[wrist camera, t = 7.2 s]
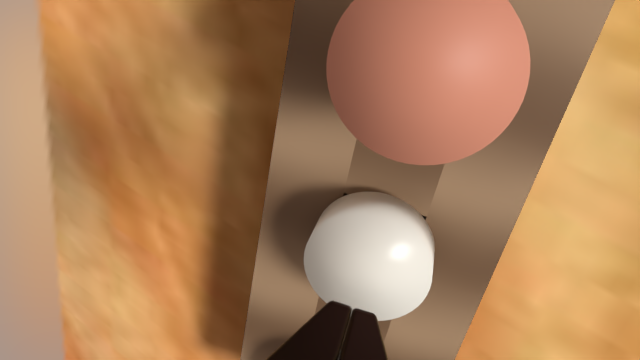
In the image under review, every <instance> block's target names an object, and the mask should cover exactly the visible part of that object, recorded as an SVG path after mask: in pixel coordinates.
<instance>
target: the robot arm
mask: <svg viewBox="0 0 640 360" xmlns="http://www.w3.org/2000/svg"><path fill="white" fill-rule="evenodd" d="M351 313H352V314H351ZM350 316H351V317H350ZM349 320H350V321H349ZM348 323H349V324H348ZM347 327H348V328H347ZM346 330H347V331H346ZM345 334H346V335H345ZM344 337H345V338H344ZM343 341H344V342H343ZM342 344H343V345H342ZM341 348H342V349H341ZM340 351H341V352H340ZM339 355H340V356H339ZM338 358H339V359H338ZM266 360H388V357H387V353H386V349H385V346H384V342H383V338H382V335H381V331H380V327H379V324H378V320H377V317H376V315H375V314H374V313H371V312H368V311H365V310H362V309H359V308H354V309H353V311H352V308H351V306H349V305H346V304H343V303H340V302H336V301H330V302H328V303H327V304H326V305H325V306H324V307H322V308H321V309H320V310H319V311H318V312H317V313H316V314H315V315H314V316H313V317H312V318H310V319H309V320H308V321H307V322H306V323H305V324H304V325H303V326H302V327H301V328H300V329H298V330H297V331H296V332H295V333H294V334H293V335H292V336H291V337H290V338H289V339H287V340H286V341H285V342H284V343H283V344H282V345H281V346H280V347H279V348H278V349H277V350H275V351H274V352H273V353H272V354H271V355H270V356H269V357H268V358H267V359H266Z"/></svg>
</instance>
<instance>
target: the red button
mask: <svg viewBox="0 0 640 360" xmlns="http://www.w3.org/2000/svg"><path fill="white" fill-rule="evenodd" d="M326 75H327V83H328V89H329V93H330V97H331V100H332V102H333V105H334V107H335V110H336V112H337V113H338V115H339V117H340V119H341V121H342V122H343V123H344V125H345V126H346V127H347V129H348V130H349V131H350V132H351V133H352V134H353V135H354V136H355V137H356V139H358V140H359V141H360V142H361V143H362V144H364V145H365V146H366V147H368V148H369V149H371V150H372V151H374V152H376V153H378V154H380V155H382V156H384V157H386V158H389V159H391V160H394V161H397V162H402V163H406V164H413V165H438V164H445V163H450V162H453V161H457V160H460V159H463V158H465V157H468V156H470V155H472V154H474V153H476V152H478V151H480V150H481V149H483V148H484V147H486V146H487V145H489V144H490V143H491V142H493V141H494V140H495V139H496V138H497V137H498V136H499V135H500V134H501V133H502V132H503V131H504V130H505V129H506V128H507V126H508V125H509V124H510V123H511V121H512V120H513V118H514V117H515V115H516V114H517V112H518V110H519V108H520V106H521V104H522V102H523V100H524V97H525V93H526V90H527V87H528V82H529V76H530V51H529V44H528V40H527V36H526V33H525V30H524V28H523V25H522V23H521V21H520V19H519V17H518V15H517V14H516V12H515V10H514V8H513V7H512V5H511V3H510V2H509V0H354V1H353V2H352V3H351V4H350V5H349V7H348V8H347V9H346V11H345V12H344V13H343V15H342V16H341V18H340V20H339V22H338V24H337V25H336V28H335V30H334V32H333V35H332V37H331V41H330V45H329V49H328V55H327V63H326Z"/></svg>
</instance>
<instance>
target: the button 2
mask: <svg viewBox="0 0 640 360" xmlns="http://www.w3.org/2000/svg"><path fill="white" fill-rule="evenodd" d="M434 253H435V244H434V238H433V235H432V232H431V229H430V227H429V226H428V224H427V222H426V221H425V219H424V218H423V217H422V215H421V214H420V213H419V212H418V211H417V210H416V209H414V208H413V207H412V206H411V205H409V204H408V203H406V202H405V201H403V200H401V199H399V198H397V197H394V196H391V195H388V194H384V193H380V192H357V193H352V194H348V195H346V196H343V197H341V198H339V199H337V200H335V201H334V202H333V203H331V204H330V205H329V206H328V207H327V208H326V209H325V210H324V211H323V213H322V214H321V216H320V218H319V220H318V222H317V224H316V226H315V228H314V230H313V232H312V234H311V236H310V238H309V240H308V242H307V244H306V248H305V251H304V268H305V272H306V276H307V278H308V280H309V282H310V285H311V286H312V288H313V289H314V291H315V292H316V293H317V294H318V295H319V297H320V298H321V299H322V300H324V301H325V302H326V303H328V302H330V301H336V302H340V303H343V304H346V305H349V306H351V308H352V311H353V309H354V308H359V309H362V310H365V311H368V312H371V313H374V314H375V315H376V317H377V320H378V321H385V320H392V319H395V318H399V317H401V316H404V315H406V314H408V313H410V312H411V311H413V310H414V309H416V308H417V307H418V306H419V305H420V304H421V303H422V302H423V301H424V299H425V298H426V296H427V294H428V292H429V290H430V287H431V283H432V276H433V264H434ZM351 314H352V313H351Z"/></svg>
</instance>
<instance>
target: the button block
mask: <svg viewBox="0 0 640 360" xmlns="http://www.w3.org/2000/svg"><path fill="white" fill-rule="evenodd" d="M353 1H354V0H295V6H294V12H293V19H292V25H291V32H290V38H289V45H288V51H287V58H286V64H285V71H284V78H283V84H282V91H281V97H280V104H279V110H278V117H277V123H276V130H275V137H274V143H273V150H272V156H271V163H270V169H269V176H268V182H267V189H266V195H265V202H264V209H263V215H262V222H261V228H260V235H259V241H258V248H257V254H256V261H255V267H254V274H253V281H252V287H251V294H250V300H249V307H248V313H247V320H246V326H245V333H244V340H243V346H242V353H241V359H240V360H266V359H267V358H268V357H269V356H270V355H271V354H272V353H273V352H274V351H275V350H277V349H278V348H279V347H280V346H281V345H282V344H283V343H284V342H285V341H286V340H287V339H289V338H290V337H291V336H292V335H293V334H294V333H295V332H296V331H297V330H298V329H300V328H301V327H302V326H303V325H304V324H305V323H306V322H307V321H308V320H309V319H310V318H312V317H313V316H314V315H315V314H316V313H317V312H318V311H319V310H320V309H321V308H322V307H324V306H325V305H326V304H327V303H326V302H325V301H324V300H322V299H321V298H320V297H319V295H318V294H317V293H316V292H315V291H314V289H313V288H312V286H311V285H310V282H309V280H308V278H307V276H306V272H305V268H304V251H305V248H306V244H307V242H308V240H309V238H310V236H311V234H312V232H313V230H314V228H315V226H316V224H317V222H318V220H319V218H320V216H321V214H322V213H323V211H324V210H325V209H326V208H327V207H328V206H329V205H330V204H331V203H333V202H334V201H335V200H337V199H339V198H341V197H343V196H346V195H348V194H352V193H357V192H380V193H384V194H388V195H391V196H394V197H397V198H399V199H401V200H403V201H405V202H406V203H408V204H409V205H411V206H412V207H413V208H414V209H416V210H417V211H418V212H419V213H420V214H421V215H422V217H423V218H424V219H425V221H426V222H427V224H428V226H429V227H430V229H431V232H432V235H433V238H434V244H435V253H434V264H433V276H432V283H431V287H430V290H429V292H428V294H427V296H426V298H425V299H424V301H423V302H422V303H421V304H420V305H419V306H418V307H417V308H416V309H414V310H413V311H411V312H410V313H408V314H406V315H404V316H401V317H399V318H395V319H392V320H385V321H378V324H379V327H380V331H381V335H382V338H383V342H384V346H385V349H386V353H387V357H388V360H455V357H456V355H457V353H458V351H459V348H460V346H461V344H462V342H463V340H464V337H465V335H466V333H467V331H468V328H469V326H470V324H471V322H472V319H473V317H474V315H475V313H476V310H477V308H478V306H479V304H480V301H481V299H482V297H483V295H484V292H485V290H486V288H487V286H488V284H489V281H490V279H491V277H492V275H493V272H494V270H495V268H496V266H497V263H498V261H499V259H500V257H501V254H502V252H503V250H504V248H505V245H506V243H507V241H508V239H509V236H510V234H511V232H512V230H513V228H514V225H515V223H516V221H517V219H518V216H519V214H520V212H521V210H522V207H523V205H524V203H525V201H526V198H527V196H528V194H529V192H530V189H531V187H532V185H533V183H534V180H535V178H536V176H537V174H538V171H539V169H540V167H541V165H542V163H543V160H544V158H545V156H546V154H547V151H548V149H549V147H550V145H551V142H552V140H553V138H554V136H555V133H556V131H557V129H558V127H559V124H560V122H561V120H562V118H563V115H564V113H565V111H566V109H567V107H568V104H569V102H570V100H571V98H572V95H573V93H574V91H575V89H576V86H577V84H578V82H579V80H580V77H581V75H582V73H583V71H584V68H585V66H586V64H587V62H588V59H589V57H590V55H591V53H592V51H593V48H594V46H595V44H596V42H597V39H598V37H599V35H600V33H601V30H602V28H603V26H604V24H605V21H606V19H607V17H608V15H609V12H610V10H611V8H612V6H613V3H614V1H615V0H509V2H510V3H511V5H512V7H513V8H514V10H515V12H516V14H517V15H518V17H519V19H520V21H521V23H522V25H523V28H524V30H525V33H526V36H527V40H528V44H529V51H530V76H529V82H528V87H527V90H526V93H525V97H524V100H523V102H522V104H521V106H520V108H519V110H518V112H517V114H516V115H515V117H514V118H513V120H512V121H511V123H510V124H509V125H508V126H507V128H506V129H505V130H504V131H503V132H502V133H501V134H500V135H499V136H498V137H497V138H496V139H495V140H494V141H493V142H491V143H490V144H489V145H487V146H486V147H484V148H483V149H481V150H480V151H478V152H476V153H474V154H472V155H470V156H468V157H465V158H463V159H460V160H457V161H453V162H450V163H445V164H438V165H413V164H406V163H402V162H397V161H394V160H391V159H389V158H386V157H384V156H382V155H380V154H378V153H376V152H374V151H372V150H371V149H369V148H368V147H366V146H365V145H364V144H362V143H361V142H360V141H359V140H358V139H356V137H355V136H354V135H353V134H352V133H351V132H350V131H349V130H348V129H347V127H346V126H345V125H344V123H343V122H342V121H341V119H340V117H339V115H338V113H337V112H336V110H335V107H334V105H333V102H332V100H331V97H330V93H329V89H328V83H327V75H326V63H327V55H328V49H329V45H330V41H331V37H332V35H333V32H334V30H335V28H336V25H337V24H338V22H339V20H340V18H341V16H342V15H343V13H344V12H345V11H346V9H347V8H348V7H349V5H350V4H351V3H352V2H353ZM350 317H351V316H350ZM349 321H350V320H349ZM348 324H349V323H348ZM347 328H348V327H347ZM346 331H347V330H346ZM345 335H346V334H345ZM344 338H345V337H344ZM343 342H344V341H343ZM342 345H343V344H342ZM341 349H342V348H341Z"/></svg>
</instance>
